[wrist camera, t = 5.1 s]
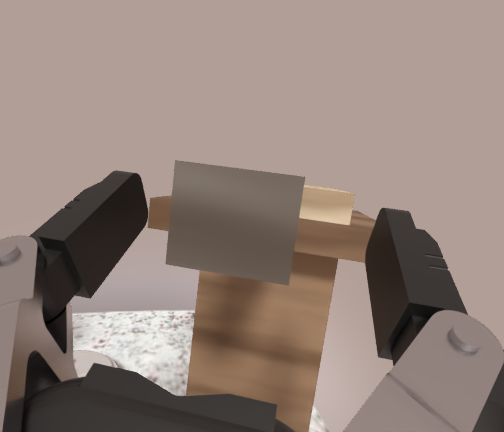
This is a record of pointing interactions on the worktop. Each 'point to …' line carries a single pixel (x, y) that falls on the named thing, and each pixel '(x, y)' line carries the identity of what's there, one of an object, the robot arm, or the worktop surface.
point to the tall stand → (269, 320)
